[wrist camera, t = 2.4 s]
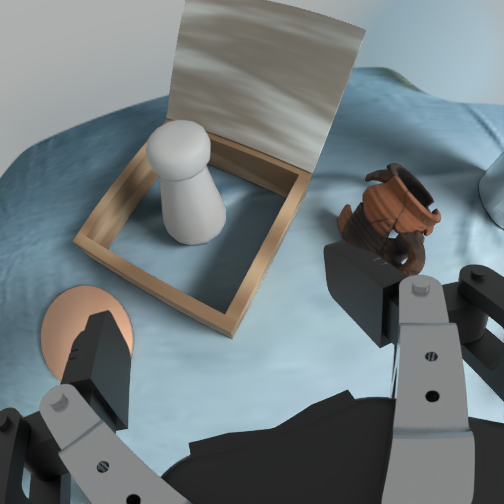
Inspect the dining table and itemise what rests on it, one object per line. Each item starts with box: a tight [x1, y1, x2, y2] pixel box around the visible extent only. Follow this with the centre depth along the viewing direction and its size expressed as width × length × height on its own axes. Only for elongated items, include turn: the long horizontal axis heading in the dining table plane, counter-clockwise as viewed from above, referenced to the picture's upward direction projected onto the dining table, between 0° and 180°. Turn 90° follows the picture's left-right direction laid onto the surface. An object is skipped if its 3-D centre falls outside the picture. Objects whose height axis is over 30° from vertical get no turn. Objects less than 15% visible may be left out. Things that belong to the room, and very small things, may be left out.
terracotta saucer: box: [41, 286, 134, 382], centre depth 25 cm, size 10×10×1 cm
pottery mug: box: [337, 163, 441, 277], centre depth 29 cm, size 12×10×8 cm
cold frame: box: [73, 0, 366, 339], centre depth 24 cm, size 22×16×17 cm
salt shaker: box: [146, 120, 226, 246], centre depth 25 cm, size 6×6×13 cm
